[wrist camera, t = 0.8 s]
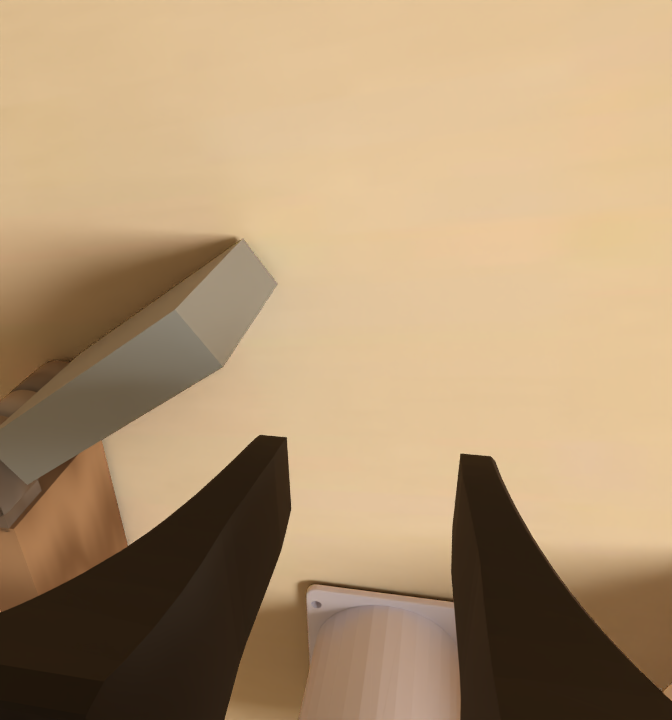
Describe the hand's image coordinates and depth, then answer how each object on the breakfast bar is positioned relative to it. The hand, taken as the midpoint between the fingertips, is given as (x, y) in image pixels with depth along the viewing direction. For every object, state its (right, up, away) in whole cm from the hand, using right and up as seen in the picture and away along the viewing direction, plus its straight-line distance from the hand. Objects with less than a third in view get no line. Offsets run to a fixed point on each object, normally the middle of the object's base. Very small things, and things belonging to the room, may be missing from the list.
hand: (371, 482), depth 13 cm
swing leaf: (-8, +3, +11) cm, 14 cm away
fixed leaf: (-12, -3, +15) cm, 20 cm away
